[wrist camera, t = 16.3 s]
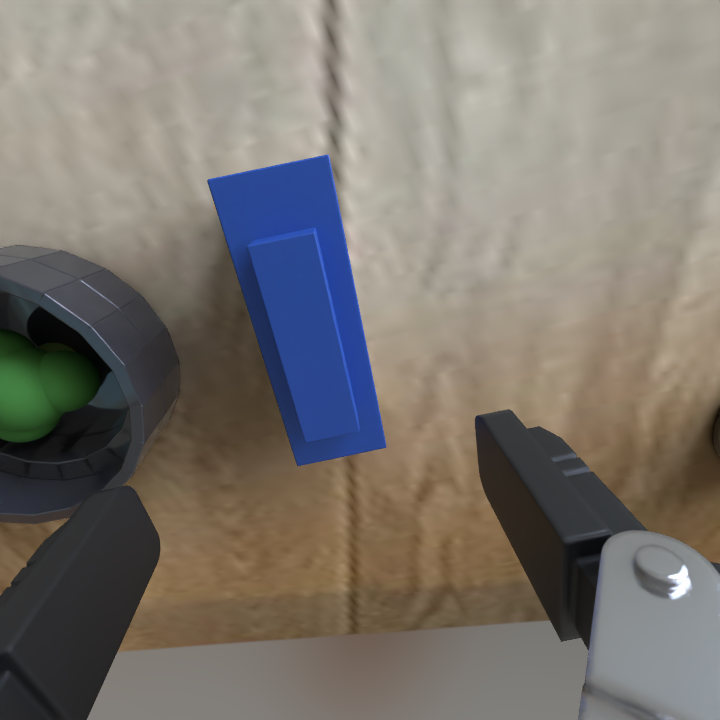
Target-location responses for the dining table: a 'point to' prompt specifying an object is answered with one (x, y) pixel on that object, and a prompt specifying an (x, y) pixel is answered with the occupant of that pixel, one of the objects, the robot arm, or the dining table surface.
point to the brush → (303, 304)
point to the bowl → (117, 381)
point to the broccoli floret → (40, 385)
